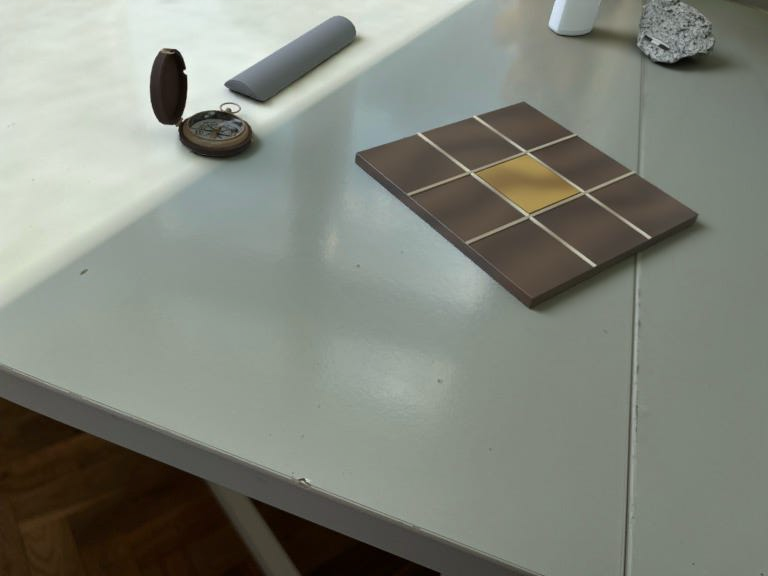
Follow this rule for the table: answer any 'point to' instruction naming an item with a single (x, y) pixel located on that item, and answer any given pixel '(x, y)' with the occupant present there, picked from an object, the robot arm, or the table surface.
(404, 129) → the table surface
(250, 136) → the compass
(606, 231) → the grid board
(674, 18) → the rock sample
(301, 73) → the gray half cylinder
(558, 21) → the eye dropper bottle
